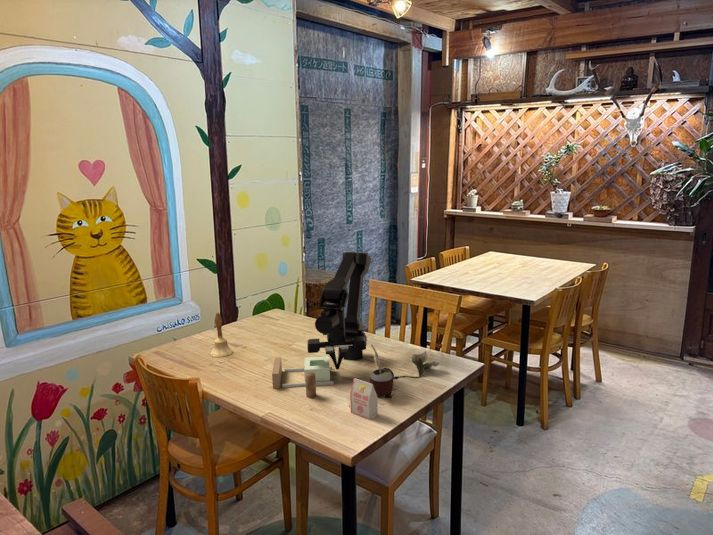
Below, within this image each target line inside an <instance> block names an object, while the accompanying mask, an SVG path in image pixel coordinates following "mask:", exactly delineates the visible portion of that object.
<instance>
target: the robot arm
mask: <svg viewBox="0 0 713 535" xmlns="http://www.w3.org/2000/svg"><path fill="white" fill-rule="evenodd" d="M371 263H372V256H371V255H369V254H368V252H362V251H361V252H359V251H358V252H357V251H345V252H343V253H342V259H341V262H340V263H339V266H338V268H337V270H336V273H335V274H334V276H333V278H332V279H330V280H329V281H327V283H326V284H325V286H324V287H323V289H322V291H321V295H320V299H319V303H318V304H319V305H318V310H322V311H320V315H319V316H318V317H316V319H315V321H314V328H315V329H316V330H317V332H318V333H320V334H322V336H326V340H327V341H320V338H309V339H308V340H307V353H308V354H314V353H315V354H316V353H319V352H320V351H321V349H324V350H325V354H326V355H329V358H331V361H332V363H333V365H334V367H335V369H336V370H338V371H339V370H340V367H341V364H342V361H343V360H345V361H350V362H351V361H360V360H363V359H364V356H363V355H364V354H363V353H364V352H363V351H365V350H367V344H368V343H367V341H368V336H367V335H366V333H365V331H364V325H363V323H362V320H361V318H360V316H361V305H362V294H363V286H364V284H363V283H364V279H365V276H366V275H367V274H368V272H369V269H370V266H371ZM348 284H349V287H348ZM347 287H348V288H347ZM345 308H346V315H345ZM335 348H338V349H337V350H338V351H337V355H336V350H335Z"/></svg>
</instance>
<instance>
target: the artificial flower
mask: <svg viewBox="0 0 713 535" xmlns="http://www.w3.org/2000/svg"><path fill="white" fill-rule="evenodd" d="M409 358H410V359H411V362H412V363H413V364H414V365H415V366H416V369H417V372H418V376H414V375H413V376H410V375H400V376H399V375H398V376H397V375H396V376H395V373H394V371H393V370H391V369H390V368H389V367H388V368H387V367H383V368H382V369H386V370H388V371H390V372H391V374H392V377H393V382H394V380H398V379H401V378H411V379H419V377H420V378H421V377H422V376H423V375H424V374H425V369H426V368H427V367H430V368H432V367H438V366H439V364H440V362H438V361H437V362H436V361H431V362H430V361H429V362H427V361H428V353H427V351H426V350H424V352H423V353H418V354H416V353H415V354H413V355H412V356H410V357H409ZM425 362H426V363H425ZM425 367H426V368H425Z"/></svg>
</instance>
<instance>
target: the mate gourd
mask: <svg viewBox="0 0 713 535" xmlns="http://www.w3.org/2000/svg"><path fill="white" fill-rule="evenodd" d="M370 346H371V347H372V350H373V351H374V355H375V359H376V362H377V367H378V368H377V369H375V370H373V371H372V373H371V374H370V377H369V383H371V384H373V386H374V389H375V392H376V394H377V399H380V398H382V397H384V399H388V400H389V399H392V398H393V396H392V393H393V390H394V389H393V388H394V381H393V377H392V374H391V372H390V371H388V370H386V369H383V368H381V363H380V360H379V353H378V352H377V350H376V348H375V347H374V345H373V344H370Z"/></svg>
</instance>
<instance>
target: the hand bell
mask: <svg viewBox="0 0 713 535" xmlns="http://www.w3.org/2000/svg"><path fill="white" fill-rule="evenodd" d="M220 314H221V313H220V312H215V315H214V324H215V328H216V330H217V338H216V339H215V340H214V344H213V345H214V346H213V349H212V350H211V351H210V356H211V357H212V356H213V358H225V357H228V356H231V355H232V354H233V353H234V351H233V349H232V348H231V347H230V346H229V344H228V340H227V338H226V337H224V336H223V331H222V327H223V319H222V316H221V315H220Z"/></svg>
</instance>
